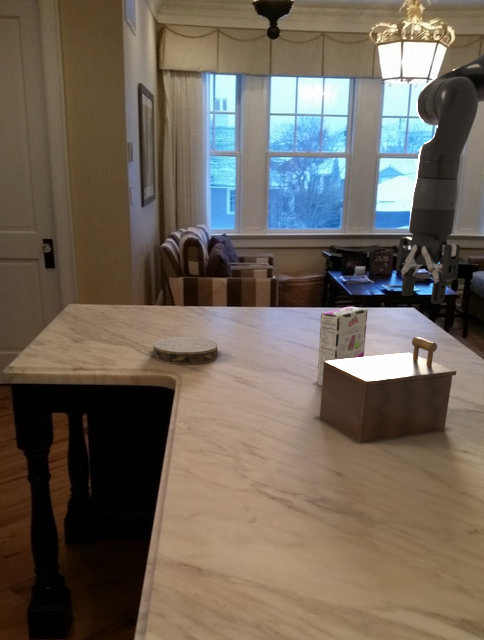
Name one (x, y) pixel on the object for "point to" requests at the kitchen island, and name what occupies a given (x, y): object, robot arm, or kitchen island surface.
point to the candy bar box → (341, 336)
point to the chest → (384, 406)
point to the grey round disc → (185, 350)
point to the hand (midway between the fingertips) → (421, 299)
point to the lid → (392, 366)
